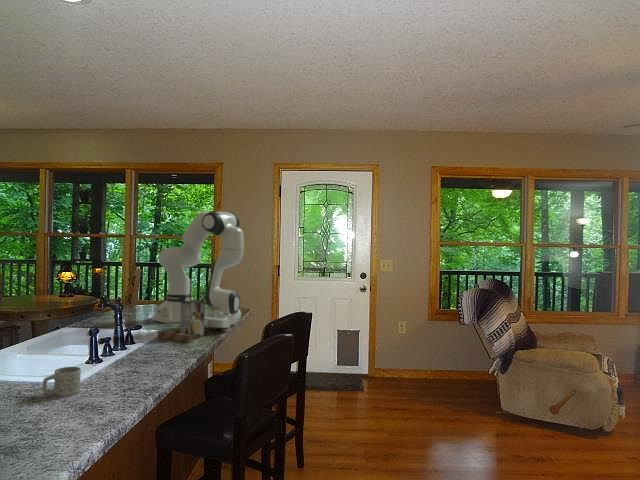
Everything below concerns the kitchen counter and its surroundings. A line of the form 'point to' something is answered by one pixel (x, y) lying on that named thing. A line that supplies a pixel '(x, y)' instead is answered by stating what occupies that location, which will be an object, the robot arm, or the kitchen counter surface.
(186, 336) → the walnut dock
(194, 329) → the coffee box
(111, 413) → the kitchen counter surface
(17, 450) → the kitchen counter surface
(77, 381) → the mug
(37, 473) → the kitchen counter surface
